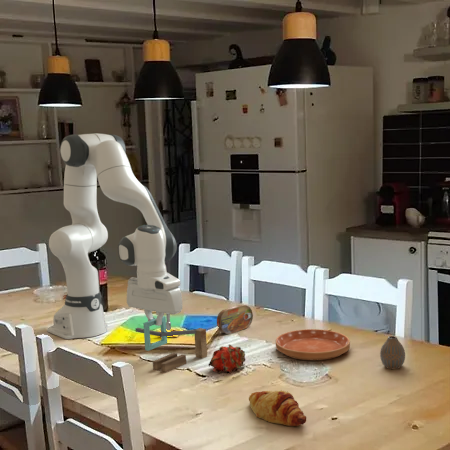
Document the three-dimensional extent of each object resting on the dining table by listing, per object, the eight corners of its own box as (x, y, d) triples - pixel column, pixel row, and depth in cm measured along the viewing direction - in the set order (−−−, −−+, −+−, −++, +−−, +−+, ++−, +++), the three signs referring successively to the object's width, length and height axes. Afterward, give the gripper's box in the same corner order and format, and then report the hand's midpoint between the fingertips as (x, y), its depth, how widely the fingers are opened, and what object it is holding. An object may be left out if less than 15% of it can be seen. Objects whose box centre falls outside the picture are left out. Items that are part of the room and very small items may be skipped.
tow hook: (162, 331, 244) (156, 337, 235) (161, 295, 243) (154, 300, 234) (186, 331, 243) (180, 338, 234) (184, 295, 242) (179, 300, 233)
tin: (221, 336, 233) (220, 312, 232) (215, 334, 236) (214, 310, 235) (254, 326, 243) (253, 303, 242) (247, 325, 246) (246, 301, 244)
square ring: (145, 350, 207) (143, 323, 206) (164, 342, 213) (162, 316, 212) (148, 350, 206) (146, 323, 205) (167, 343, 213) (165, 316, 212)
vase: (406, 363, 200) (405, 334, 198) (404, 371, 193) (403, 341, 192) (381, 361, 202) (381, 332, 201) (379, 370, 195) (378, 340, 194)
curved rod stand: (137, 358, 215) (135, 328, 214) (162, 347, 224) (161, 319, 223) (188, 370, 202) (186, 338, 201) (213, 358, 211) (211, 328, 210)
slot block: (153, 372, 201) (152, 361, 201) (174, 363, 208) (173, 352, 208) (165, 376, 198) (165, 364, 198) (186, 366, 205) (185, 355, 205)
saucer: (364, 348, 215) (364, 336, 215) (321, 369, 199) (321, 356, 198) (305, 335, 231) (304, 325, 230) (260, 354, 214) (260, 342, 214)
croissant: (242, 418, 175) (228, 396, 172) (268, 392, 180) (256, 369, 177) (297, 446, 158) (283, 421, 155) (325, 415, 163) (312, 391, 160)
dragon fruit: (250, 373, 201) (213, 387, 197) (236, 351, 207) (200, 364, 202) (254, 356, 196) (216, 370, 191) (240, 334, 201) (203, 347, 196)
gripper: (120, 278, 211) (123, 322, 213) (169, 285, 198) (172, 332, 200) (135, 274, 216) (138, 317, 218) (184, 280, 203) (187, 326, 205)
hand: (155, 324), depth 209 cm, fingers closed on square ring, 1 cm apart
